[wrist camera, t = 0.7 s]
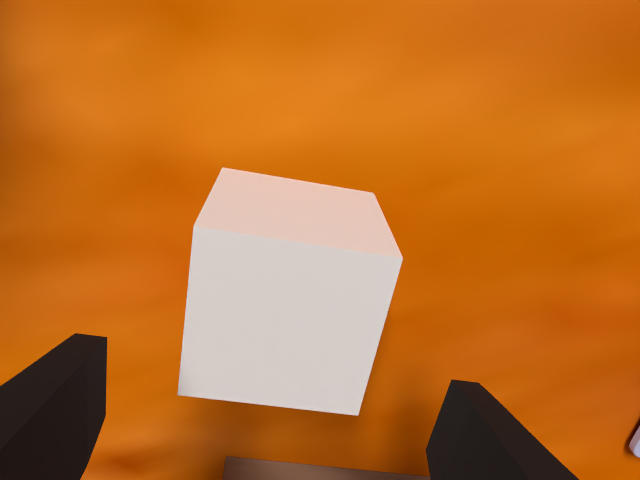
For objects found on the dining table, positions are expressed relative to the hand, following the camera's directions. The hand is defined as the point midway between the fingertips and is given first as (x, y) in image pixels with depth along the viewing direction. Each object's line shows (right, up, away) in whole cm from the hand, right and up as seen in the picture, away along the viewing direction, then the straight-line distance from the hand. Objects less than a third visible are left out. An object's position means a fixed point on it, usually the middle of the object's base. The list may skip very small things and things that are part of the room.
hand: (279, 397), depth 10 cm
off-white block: (0, +3, +7) cm, 8 cm away
